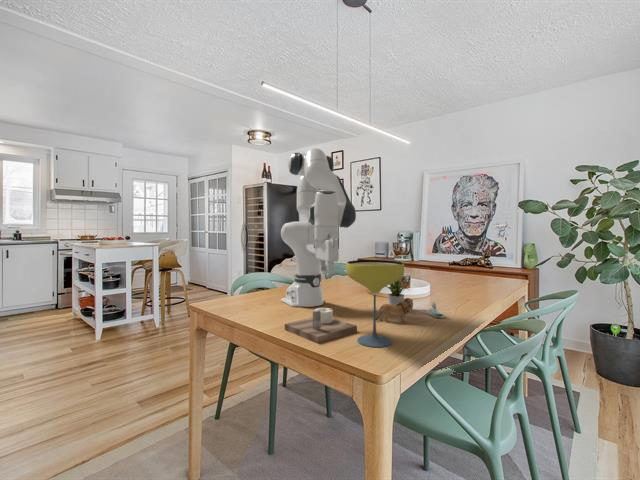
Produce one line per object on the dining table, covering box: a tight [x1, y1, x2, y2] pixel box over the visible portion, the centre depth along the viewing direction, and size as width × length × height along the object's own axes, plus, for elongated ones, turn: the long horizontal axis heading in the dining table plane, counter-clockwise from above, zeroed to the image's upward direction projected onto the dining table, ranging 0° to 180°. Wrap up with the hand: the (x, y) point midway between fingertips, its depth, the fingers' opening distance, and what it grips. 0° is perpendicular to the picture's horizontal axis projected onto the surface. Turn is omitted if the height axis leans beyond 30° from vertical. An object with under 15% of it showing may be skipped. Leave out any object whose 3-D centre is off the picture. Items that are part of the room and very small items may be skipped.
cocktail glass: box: [345, 259, 405, 348], centre depth 103 cm, size 18×18×25 cm
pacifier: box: [427, 300, 446, 319], centre depth 133 cm, size 7×6×6 cm
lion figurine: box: [376, 297, 414, 324], centre depth 126 cm, size 15×5×9 cm, turn 91°
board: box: [284, 310, 358, 344], centre depth 115 cm, size 18×18×8 cm
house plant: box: [385, 276, 412, 305], centre depth 144 cm, size 14×14×16 cm
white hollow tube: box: [314, 307, 334, 323], centre depth 120 cm, size 6×6×4 cm
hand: (326, 272), depth 119 cm, fingers open, 8 cm apart
